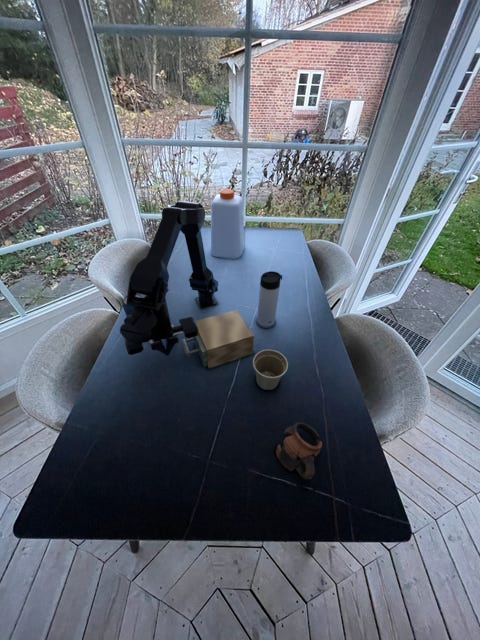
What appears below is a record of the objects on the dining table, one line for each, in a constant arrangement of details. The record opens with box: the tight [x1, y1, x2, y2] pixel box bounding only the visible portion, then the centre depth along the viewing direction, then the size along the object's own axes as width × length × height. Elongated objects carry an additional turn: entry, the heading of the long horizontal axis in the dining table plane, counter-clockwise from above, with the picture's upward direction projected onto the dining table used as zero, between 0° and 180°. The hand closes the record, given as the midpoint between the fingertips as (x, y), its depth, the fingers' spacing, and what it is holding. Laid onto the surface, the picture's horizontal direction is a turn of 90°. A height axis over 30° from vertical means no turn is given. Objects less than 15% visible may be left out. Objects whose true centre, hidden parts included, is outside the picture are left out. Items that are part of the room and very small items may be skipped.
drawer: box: [180, 334, 208, 367], centre depth 82 cm, size 18×11×7 cm, turn 114°
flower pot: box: [252, 349, 289, 391], centre depth 74 cm, size 9×9×9 cm
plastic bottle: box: [210, 188, 245, 260], centre depth 121 cm, size 15×15×28 cm
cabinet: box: [194, 309, 255, 369], centre depth 83 cm, size 15×13×9 cm
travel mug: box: [256, 270, 283, 329], centre depth 88 cm, size 6×7×20 cm
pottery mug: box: [275, 421, 323, 480], centre depth 60 cm, size 12×10×8 cm
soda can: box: [122, 293, 143, 317], centre depth 88 cm, size 7×7×12 cm
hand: (167, 354), depth 77 cm, fingers closed
